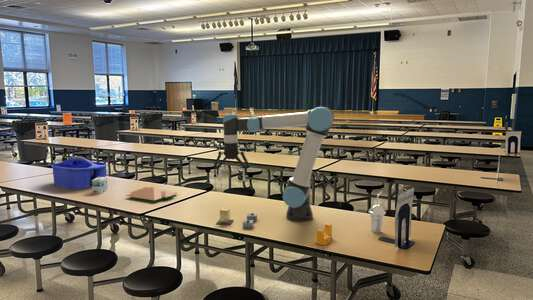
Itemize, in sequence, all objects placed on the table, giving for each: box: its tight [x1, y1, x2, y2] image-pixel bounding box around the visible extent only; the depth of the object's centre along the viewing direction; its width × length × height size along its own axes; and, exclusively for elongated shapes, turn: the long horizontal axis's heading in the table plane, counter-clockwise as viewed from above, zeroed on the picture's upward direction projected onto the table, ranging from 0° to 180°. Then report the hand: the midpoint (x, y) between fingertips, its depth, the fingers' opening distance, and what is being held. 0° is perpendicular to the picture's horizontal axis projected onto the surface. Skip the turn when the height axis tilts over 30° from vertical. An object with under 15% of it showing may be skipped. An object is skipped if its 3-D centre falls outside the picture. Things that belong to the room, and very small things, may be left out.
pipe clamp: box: [315, 222, 333, 246], centre depth 178 cm, size 12×4×6 cm, turn 148°
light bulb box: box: [91, 176, 109, 195], centre depth 270 cm, size 11×7×11 cm, turn 179°
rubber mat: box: [215, 218, 234, 226], centre depth 205 cm, size 8×8×1 cm
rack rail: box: [242, 212, 258, 229], centre depth 202 cm, size 5×16×4 cm, turn 172°
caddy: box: [50, 155, 108, 190], centre depth 293 cm, size 32×45×23 cm
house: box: [125, 186, 178, 204], centre depth 256 cm, size 23×33×8 cm
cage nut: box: [219, 207, 231, 223], centre depth 204 cm, size 4×6×7 cm
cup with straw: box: [368, 190, 387, 234], centre depth 190 cm, size 8×9×20 cm
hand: (232, 180), depth 206 cm, fingers open, 13 cm apart
